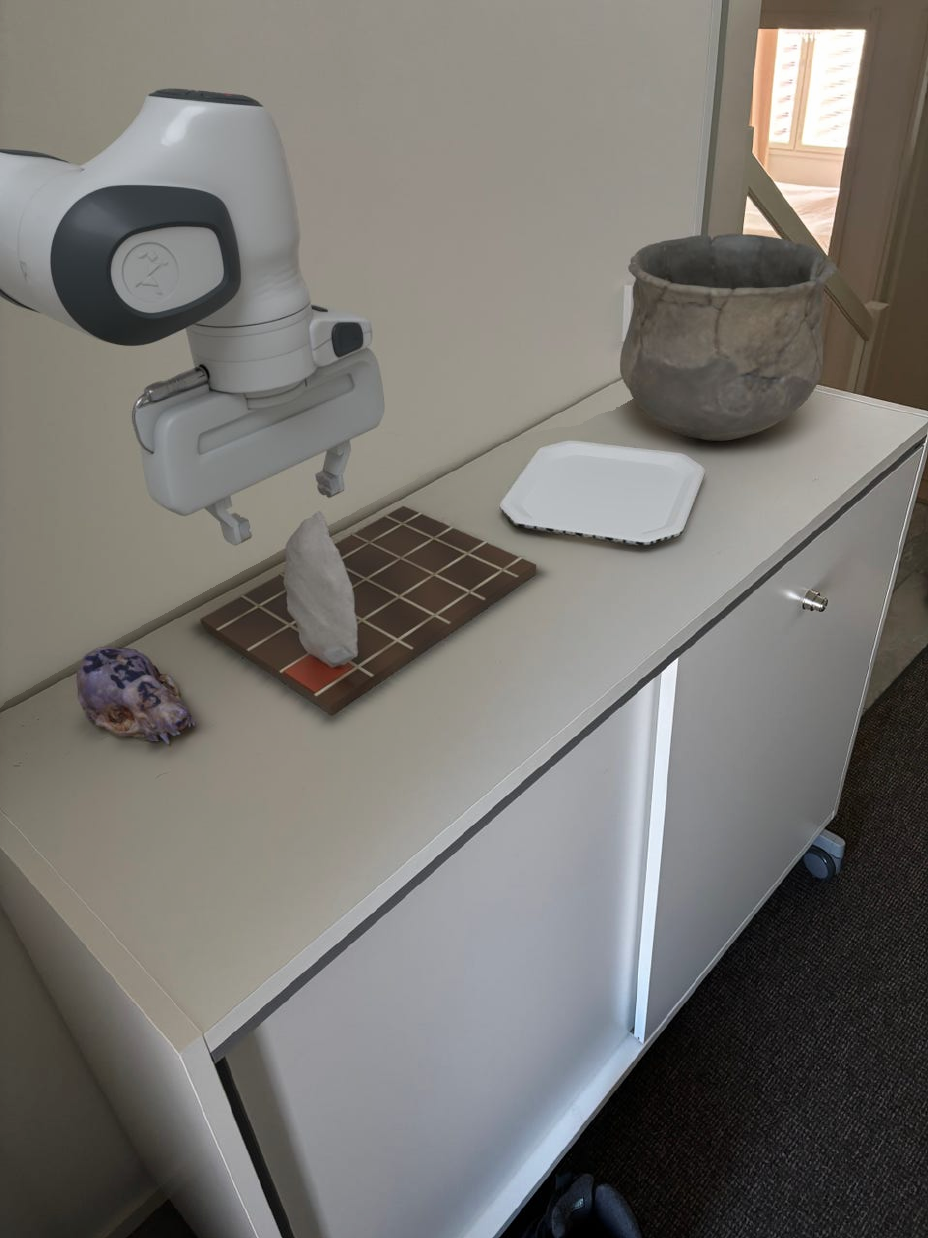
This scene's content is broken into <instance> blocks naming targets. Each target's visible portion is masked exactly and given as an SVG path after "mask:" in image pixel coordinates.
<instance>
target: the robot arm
mask: <svg viewBox="0 0 928 1238" xmlns="http://www.w3.org/2000/svg"><path fill="white" fill-rule="evenodd" d="M300 245H301V228H300V220H299V215H298V207H297V204H296V197H295V191H294V185H293V180H292V175H291V170H290V166H289V162H288V158H287V155H286V150H285V147H284V143H283V141H282V138H281V134H280V133H279V130H278V127H277V125H276V123H275V120H274V119H273V116H272V115H271V113H270V112H269V110H268V109H267V108H266V107H265V106H264V105H263V104H261V103H260V102H259V101H258V100H256V99H254V98H253V97H250V96H248V95H244V94H236V93H227V92H217V91H208V90H199V89H197V90H196V89H188V88H187V89H185V88H170V87H169V88H161V89H157V90H155V91H154V92H151V93H148V95H147V96H145V100H144V102H143V105H142V107H141V109H140V111H139V113H138V114H137V116H136V117H135V118H134V119H133V121H131V123H130V124H129V125H128V127H127V128H126V129H125V130H124V131H123V132H122V133H121V134H120V135H119V136H118V137H117V138H116V139H115V140H114V141H113V142H112V143H111V144H110V145H108V146H107V147H106V148H105V149H104V150H103V151H101V152H100V153H99V154H97V155H96V156H94V157H93V158H92V159H90V160H88V161H87V162H85V163H83V164H80V165H79V164H76V163H71V162H69V161H67V160H65V159H61V158H59V157H56V156H54V155H51V154H46V153H43V152H38V151H32V150H24V149H23V150H22V149H6V148H0V297H1V298H2V299H4V300H5V301H7V302H8V303H10V304H12V305H15V306H17V307H20V308H21V309H22V308H23V309H25V310H27V311H28V310H29V311H31V312H35V313H38V314H42V315H44V316H46V317H48V318H50V319H52V320H54V321H56V322H59V323H60V324H63V325H65V326H67V327H68V328H71V329H73V330H75V331H78V332H80V333H82V334H84V335H86V336H89V337H91V338H93V339H96V340H98V341H102V342H105V343H109V344H113V345H118V346H123V347H124V346H125V347H138V346H139V347H140V346H145V345H149V344H152V343H156V342H158V341H161V340H163V339H166V338H168V337H170V336H172V335H174V334H176V333H178V332H180V331H183V330H185V332H186V337H187V341H188V344H189V350H190V354H191V359H192V362H193V368H191V369H188V370H186V371H183V372H181V373H179V374H176V375H174V376H173V377H170V378H168V379H165V380H159V381H154V382H153V383H151V384H149V385H147V386H145V387H144V389H143V393H142V394H141V395H140V396H139V397H138V398H137V399H136V401H135V402H134V405H133V407H132V409H131V410H130V421H131V424H132V427H133V431H134V435H135V438H136V440H137V442H138V444H139V445H140V446H139V447H140V455H141V463H142V469H143V473H144V479H145V484H146V488H147V491H148V494H149V496H150V498H151V500H153V501H154V502H155V503H157V504H158V505H159V506H160V507H163V508H164V509H166V510H167V511H170V512H172V513H175V514H176V515H178V516H182V517H188V516H190V515H192V514H194V513H196V512H199V511H201V510H203V509H204V510H205V511H206V512H208V513H209V514H210V515H211V516H212V517H214V519H216V520H217V521H218V522H219V524H220V528H221V533H222V537H223V538H224V540H225V541H226V542H227V543H229V544H231V545H232V546H234V547H236V546H238V545H240V544H242V543H244V542H246V541H248V540H250V539H252V537H253V533H252V531H250V529H251V525H250V521H249V519H248V518H246V517H244V516H241V515H240V514H238V513H236V512H234V513H230V512H228V509H230V508H232V507H233V502H232V498H231V496H232V495H235V494H237V493H240V492H241V491H243V490H246V489H248V488H250V487H252V486H255V485H257V484H258V483H261V482H263V481H266V480H267V479H269V478H272V477H274V476H276V475H278V474H281V473H282V472H284V471H287V470H289V469H290V468H293V467H295V466H298V465H299V464H301V463H303V462H305V461H308V460H310V459H312V458H314V457H317V456H318V455H321V454H322V453H325V457H324V461H323V465H322V470H320V471H319V472H316V473H315V481H316V482H317V486H316V488H317V491H318V492H319V494H320V495H322V496H326V498H328V499H331V498H332V497H335V496H337V495H338V494H341V493H343V492H344V491H345V490H346V489H345V481H344V475H343V474H344V473H345V470H346V467H347V464H348V461H349V458H350V456H351V452H352V446H351V440H353V439H355V438H357V437H360V436H362V435H363V434H365V433H368V432H370V431H372V430H375V429H376V428H378V427H379V425H380V423H381V421H382V419H383V417H384V414H385V396H384V395H385V394H384V387H383V381H382V375H381V370H380V366H379V362H378V359H377V357H376V354H375V352H374V351H373V350H372V349H370V348H369V347H370V346H371V344H372V342H373V327H372V324H371V321H370V320H369V319H367V318H364V317H363V316H361V315H357V314H354V313H351V312H348V311H346V310H341V309H338V308H334V307H329V306H325V305H320V304H313V303H312V300H311V296H310V295H311V294H310V291H309V287H308V286H307V284H306V282H305V278H304V277H303V273H302V271H301V267H300V266H301V265H300V259H299V258H300V256H299V252H300Z"/></svg>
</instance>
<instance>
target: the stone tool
mask: <svg viewBox="0 0 928 1238" xmlns="http://www.w3.org/2000/svg"><path fill="white" fill-rule="evenodd" d="M327 523H328V522H327V521H326V518H325V516H324V514H323V512H322V511H321V510H318V511H317V512H316V513H315V514H313V515H312V516H311V517H309V518H306V519H303V520H302V522H300V524H299V526H298V527H297V528H296V530H295V531H294V532H293V533H292V534H291V535H290V537H289V539H288V540H287V542H286V543H285V548H284V549H285V550H284V552H285V564H284V572H283V573H284V586H285V588H286V591H287V604H288V606H287V609H288V612H289V614H290V615H291V616H292V617H293V618H294V620H295V622H296V624H297V627H298V630H299V638H300V642H301V644H302V645H303V647H304V649H305V650H306V651H307V652H308V653H309V654H311V655H313V656H315V657H317V658H319V659H320V660H321V661H322V662H324V663H326V664H327V665H329V666H330V667H332V668H333V667H336V666H338V665H341V664H342V665H345V664H346V663H347V662H350V660H352V659H353V658H354V657H356V656H357V654H358V648H357V641H358V638H357V629H358V628H357V619H356V616H355V612H354V611H355V610H354V608H355V606H354V593H353V588H352V584H351V582H350V579H349V576H348V574H347V571H346V569H345V565H344V562H343V561H342V558H341V556H340V554H339V550H338V549H337V548H336V546H335V545H334V544H335V542H334V540H333V539H332V538H331V536H330V532H329V526H328V524H327Z"/></svg>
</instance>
